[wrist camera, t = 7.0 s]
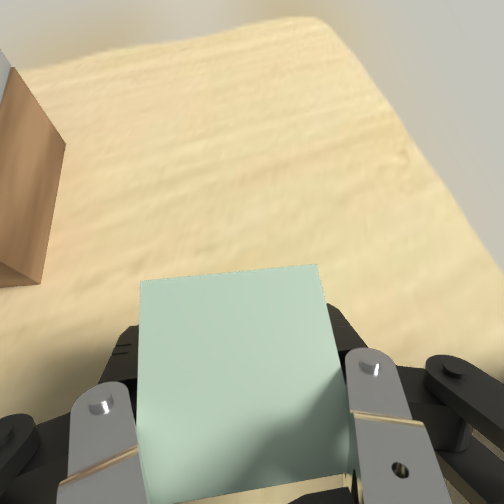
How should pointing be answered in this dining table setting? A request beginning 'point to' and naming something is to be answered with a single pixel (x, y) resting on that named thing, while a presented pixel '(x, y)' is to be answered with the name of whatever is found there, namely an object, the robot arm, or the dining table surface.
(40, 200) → the tower base
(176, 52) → the dining table surface
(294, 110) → the dining table surface
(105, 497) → the robot arm
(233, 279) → the sage block
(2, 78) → the tower top
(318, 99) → the dining table surface
